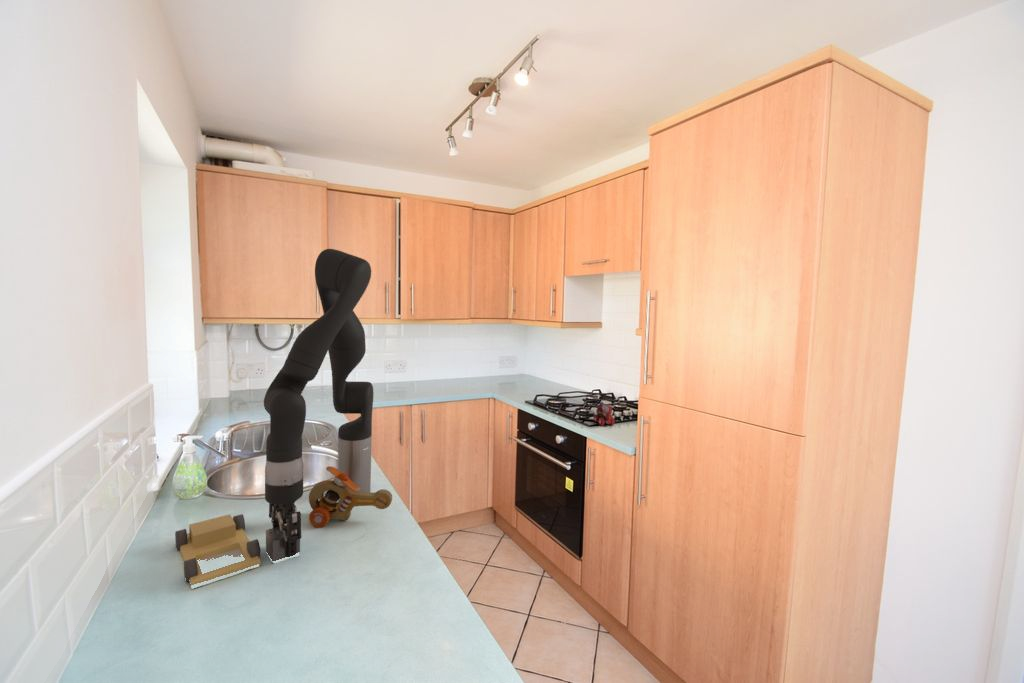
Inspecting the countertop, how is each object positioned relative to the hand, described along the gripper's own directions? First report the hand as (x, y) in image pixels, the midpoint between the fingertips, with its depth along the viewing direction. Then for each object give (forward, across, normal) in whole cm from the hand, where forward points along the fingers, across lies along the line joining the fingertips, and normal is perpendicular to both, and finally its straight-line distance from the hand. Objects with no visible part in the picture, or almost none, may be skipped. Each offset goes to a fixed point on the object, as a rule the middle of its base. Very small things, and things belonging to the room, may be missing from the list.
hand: (284, 546), depth 99 cm
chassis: (+2, -10, -11) cm, 15 cm away
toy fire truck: (+2, -19, +151) cm, 152 cm away
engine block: (+2, -1, 0) cm, 2 cm away
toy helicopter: (+2, -6, +17) cm, 18 cm away
